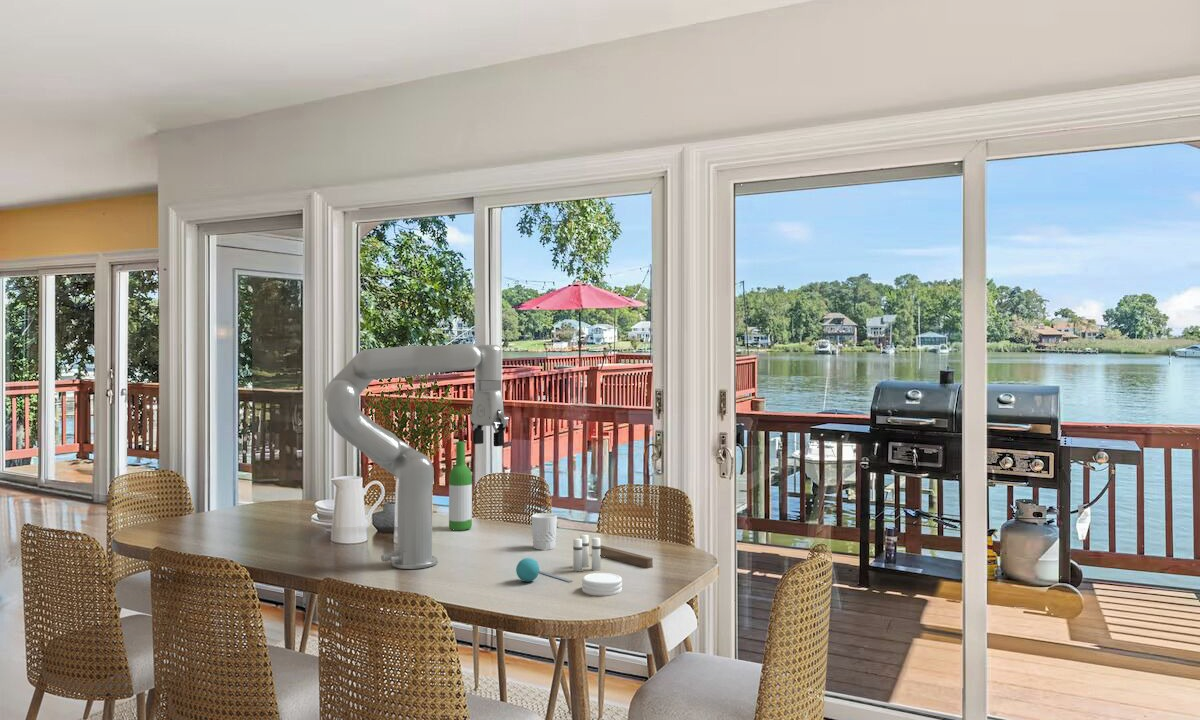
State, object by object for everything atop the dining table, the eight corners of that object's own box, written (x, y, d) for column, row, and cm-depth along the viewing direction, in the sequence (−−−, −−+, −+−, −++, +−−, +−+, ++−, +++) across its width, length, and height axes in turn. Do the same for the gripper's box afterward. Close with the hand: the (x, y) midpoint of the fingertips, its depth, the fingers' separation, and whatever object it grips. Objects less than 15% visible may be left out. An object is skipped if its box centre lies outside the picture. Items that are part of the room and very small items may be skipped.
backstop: (647, 568, 225) (647, 559, 225) (595, 554, 241) (595, 546, 241) (652, 567, 226) (652, 558, 226) (600, 553, 242) (600, 545, 242)
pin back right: (595, 571, 222) (595, 539, 222) (589, 569, 223) (589, 538, 224) (602, 569, 223) (602, 538, 223) (596, 567, 225) (596, 537, 225)
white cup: (543, 544, 255) (543, 512, 255) (562, 547, 250) (562, 515, 250) (526, 548, 249) (526, 515, 249) (544, 552, 244) (544, 518, 244)
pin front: (577, 572, 220) (577, 540, 221) (571, 570, 222) (571, 539, 222) (584, 570, 222) (584, 539, 222) (578, 568, 224) (578, 538, 224)
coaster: (574, 592, 201) (574, 578, 201) (596, 583, 210) (596, 570, 210) (607, 599, 196) (607, 584, 196) (629, 589, 204) (629, 575, 204)
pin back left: (583, 567, 225) (583, 537, 225) (578, 565, 227) (578, 535, 227) (590, 566, 227) (590, 535, 227) (584, 564, 229) (584, 534, 229)
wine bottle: (476, 528, 280) (476, 441, 280) (461, 532, 273) (461, 443, 274) (459, 526, 284) (459, 440, 284) (444, 529, 277) (444, 442, 278)
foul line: (569, 582, 210) (569, 581, 210) (532, 570, 222) (532, 570, 222) (572, 581, 211) (572, 580, 211) (535, 570, 223) (535, 569, 223)
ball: (525, 585, 207) (525, 562, 207) (511, 581, 211) (511, 558, 211) (543, 581, 211) (543, 558, 211) (530, 577, 215) (530, 554, 215)
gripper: (460, 386, 242) (460, 443, 242) (496, 387, 230) (496, 447, 229) (481, 386, 247) (481, 442, 247) (516, 387, 235) (516, 446, 235)
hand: (488, 444), depth 238 cm, fingers open, 9 cm apart
